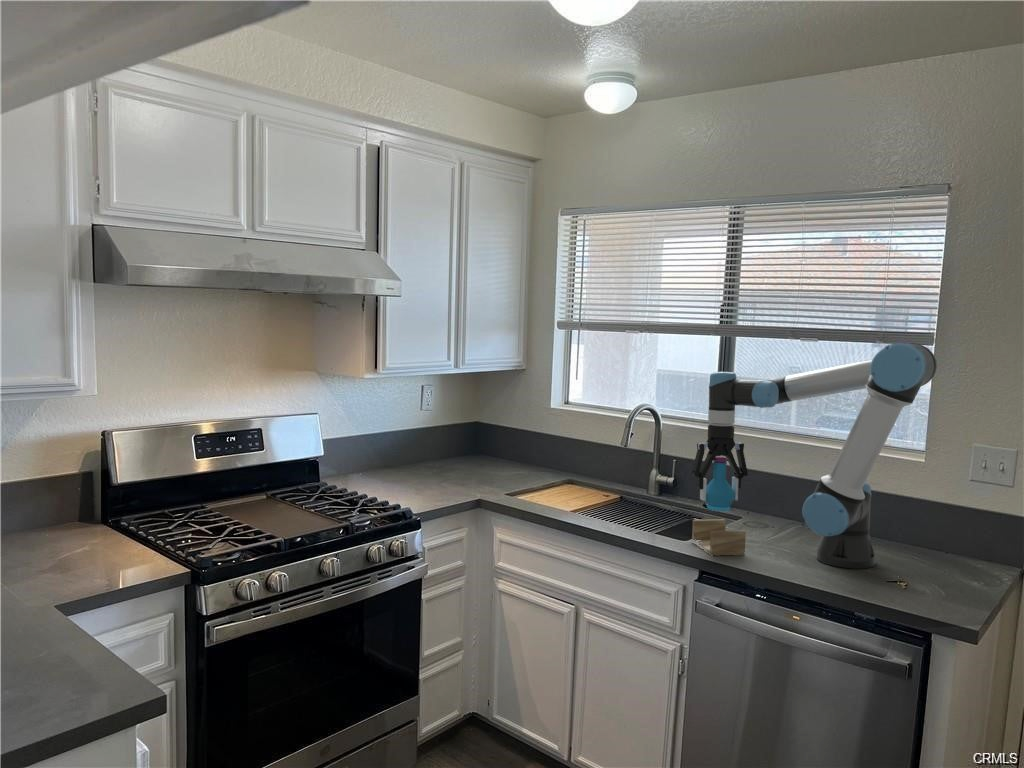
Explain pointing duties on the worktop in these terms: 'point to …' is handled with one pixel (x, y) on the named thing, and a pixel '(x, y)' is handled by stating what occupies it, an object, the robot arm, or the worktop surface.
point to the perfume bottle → (719, 488)
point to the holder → (718, 537)
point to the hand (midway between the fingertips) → (718, 499)
